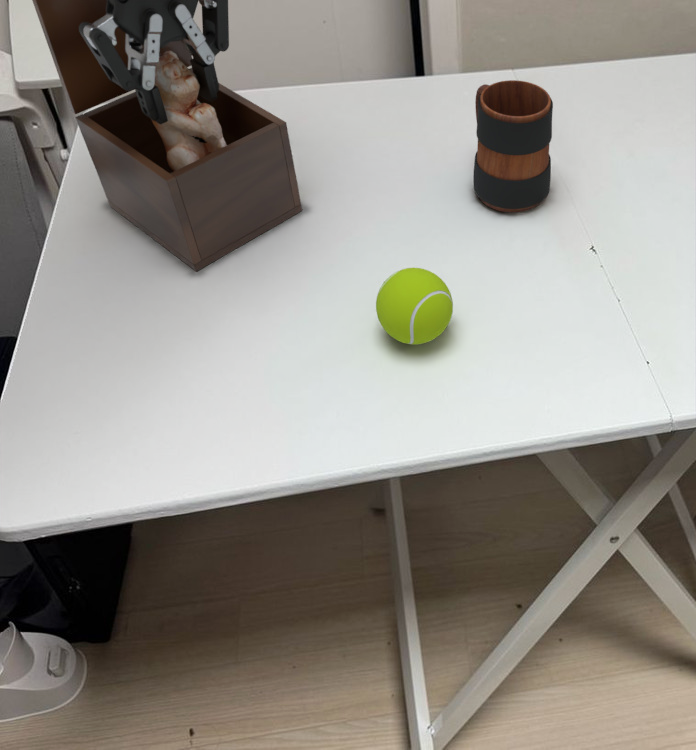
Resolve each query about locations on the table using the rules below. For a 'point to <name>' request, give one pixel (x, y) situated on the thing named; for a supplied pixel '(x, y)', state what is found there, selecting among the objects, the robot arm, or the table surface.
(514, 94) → the mug
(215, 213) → the chest
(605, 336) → the table surface
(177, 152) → the figurine
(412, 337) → the tennis ball
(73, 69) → the lid
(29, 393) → the table surface
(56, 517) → the table surface
